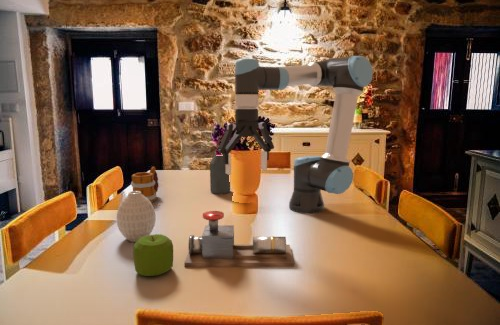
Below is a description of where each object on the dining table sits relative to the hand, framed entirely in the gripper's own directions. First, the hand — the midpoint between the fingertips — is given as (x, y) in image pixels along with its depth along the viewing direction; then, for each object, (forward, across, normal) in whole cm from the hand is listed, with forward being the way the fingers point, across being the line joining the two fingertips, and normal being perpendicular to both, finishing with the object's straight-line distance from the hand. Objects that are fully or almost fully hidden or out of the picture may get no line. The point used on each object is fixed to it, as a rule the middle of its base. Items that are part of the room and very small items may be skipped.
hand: (246, 172), depth 123 cm
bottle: (+24, -18, -60) cm, 67 cm away
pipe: (+22, +1, +16) cm, 28 cm away
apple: (+24, +34, +8) cm, 43 cm away
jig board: (+24, +9, +12) cm, 28 cm away
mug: (+24, +18, -64) cm, 71 cm away
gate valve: (+23, +16, +8) cm, 29 cm away
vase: (+24, +33, -18) cm, 45 cm away
